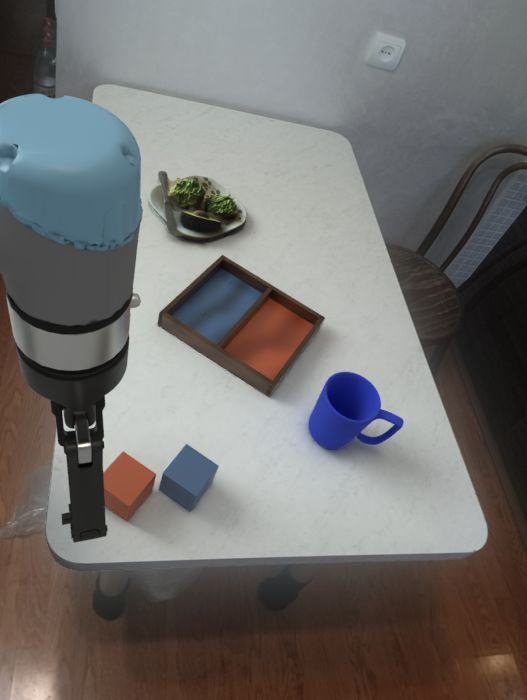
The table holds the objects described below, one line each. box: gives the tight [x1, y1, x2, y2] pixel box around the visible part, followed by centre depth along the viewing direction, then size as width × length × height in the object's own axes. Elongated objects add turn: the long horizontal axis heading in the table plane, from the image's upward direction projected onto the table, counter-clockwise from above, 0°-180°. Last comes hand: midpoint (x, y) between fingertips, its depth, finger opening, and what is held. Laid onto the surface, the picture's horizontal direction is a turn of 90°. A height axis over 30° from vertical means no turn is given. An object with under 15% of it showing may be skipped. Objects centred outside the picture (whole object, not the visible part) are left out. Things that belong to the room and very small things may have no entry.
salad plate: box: [148, 170, 247, 243], centre depth 102 cm, size 19×18×5 cm
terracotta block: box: [103, 450, 157, 522], centre depth 65 cm, size 5×5×5 cm
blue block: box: [158, 443, 219, 513], centre depth 68 cm, size 5×5×5 cm
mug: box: [308, 371, 404, 450], centre depth 77 cm, size 8×12×10 cm
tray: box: [157, 254, 326, 398], centre depth 87 cm, size 21×18×3 cm
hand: (79, 464), depth 53 cm, fingers open, 13 cm apart
